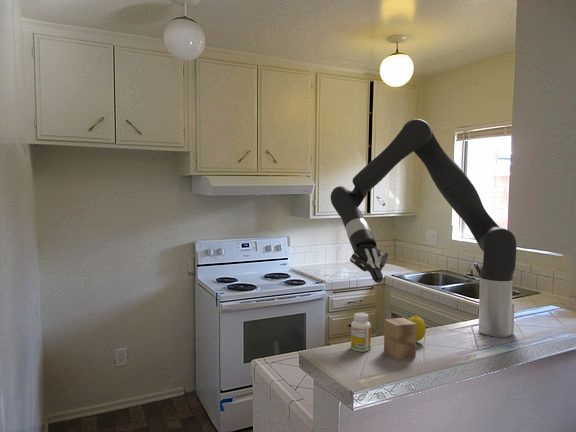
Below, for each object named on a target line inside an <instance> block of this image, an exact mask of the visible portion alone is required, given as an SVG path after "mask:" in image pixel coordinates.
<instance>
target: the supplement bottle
mask: <svg viewBox="0 0 576 432" xmlns="http://www.w3.org/2000/svg"><path fill="white" fill-rule="evenodd" d="M350 325H351V326H350V327H351V329H350V331H351V332H350V347H351V349H352V350H353V351H355V352H362V353H363V352H368V351H370V350H371V344H372V342H371V337H372V335H371V334H372V333H371V332H372V326H371V322H369V314H368V313H367V312H356V313H354V314H353V321H352V322H351V323H350Z"/></svg>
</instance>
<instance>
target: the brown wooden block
mask: <svg viewBox="0 0 576 432" xmlns="http://www.w3.org/2000/svg"><path fill="white" fill-rule="evenodd" d="M383 327H384V328H383V331H384V332H383V335H384V337H383V353H385V354H387V355H388V356H390V357H391V358H392V359H394V360H402V359H412V358H416V357H417V356H416V352H417V349H416V348H417V342H416V323H414V322H412V321H409V319H407V318H405V317H396V318H387V319H386V318H385V319H384V325H383Z"/></svg>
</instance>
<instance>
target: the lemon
mask: <svg viewBox="0 0 576 432" xmlns="http://www.w3.org/2000/svg"><path fill="white" fill-rule="evenodd" d="M408 320H409V321H412V322H414V323H416V343H417V342H420V341H421V340H423V339H424V337H425V335H426V329H427V327H426V323H425V321H424V319H422V318H421V317H420V316H418V315H415V314H414V316H411V317H410V318H408Z"/></svg>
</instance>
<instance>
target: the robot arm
mask: <svg viewBox="0 0 576 432" xmlns="http://www.w3.org/2000/svg"><path fill="white" fill-rule="evenodd" d="M412 153H414V154H415V155H416V156H417V157H418V158H419V159H420V160H421V162H422V163H423V165H424V166H425V168H426V170H427V172H428V173H429V176H430V178H431V180H432V181H433V183H434V184H435V186H436V188H437V189H438V191H439V192H440V194H441V195H442V197H443V198H444V199H445V201H446V202H447V203H448V204H449V206H450V207H451V208H452V209H453V211H454V212H455V213H456V214H457V215H458V216H459V218H460V219H461V220H462V221H463V222H464V223H465V225H466V226H467V228H468V229H469V231H470V232H471V234H472V236H473V238H474V239H475V241H476V243H477V244H478V246H479V248H480V249H481V251H482V252H483V257H482V258H483V259H482V260H483V261H482V262H483V263H482V266H481V268H480V269H479V295H478V296H479V298H478V332H479V333H481V334H483V335H485V336H489V337H496V338H507V337H510V336H512V335H514V331H515V330H514V329H515V327H514V326H515V325H514V324H515V303H513V279H514V278H513V277H514V273H515V270H516V262H517V261H516V260H517V239H516V237H515V235H514V233H513V232H511V230H509V229H506V228H503V227H500V226H499V225H498V224H497V223H496V222H495V221H494V220H493V218H492V216H490V215H489V213H488V212H487V210H486V209H485V207H484V205H483V204H484V203H483V202H482V199H481V197H480V195H479V193H478V191H477V189H476V188H475V186H474V184H473V183H472V181H471V180H470V178H469V177H468V176H467V175H466V173H465V172H464V171H463V170H462V169H461V167H460V166H459V164H457V163H456V162H455V161H454V160H453V159H452V157H450V156H449V154H447V153H446V152H445V150H444V149H443V148H442V146H441V145H440V143H439V141H438V139H437V138H436V136H435V134H434V132H433V130H432V128H431V126H430V125H429V123H428V122H426V121H425V120H423V119H419V118H414V119H410V120H408V121H407V122H406V123H405V124H404V125H403V127H402V129H401V130H400V131H399V132H398V134H397V135H396V136H395V138H393V140H392V141H391V142H390V143H389V145H387V146H386V148H385V149H383V151H381V152H380V153H379V154H378V155H377V156H376V157H375V158H373V159H372V160H371V161H369V163H367V164H366V166H364V167H363V168H362V169H361V170H360V171H358V173H356V174H355V176H354V177H353V178H352V185H353V186H354V187H353V190H350V189H348V188H347V187H345V186H341V185H339V186H336V187H334V188H333V190H332V191H331V193H330V203H331V205H332V208H334V210H335V212H337V215H338V216H339V217H340V219H341V221H342V224H343V226H344V228H345V232H346V236H347V238H348V241H349V244H350V246H351V248H352V251H353V253H352V255H351V256H350V258H349V261H350V262H351V263H352V264H353V265H355V266H356V267H357V268H358V269H360V270H362V271H363V272H368V273H370V274H369V275H370V276H371V278H372V281H374V282H375V283H379V284H380V283H382V281H383V279H384V275H383V273H382V270H383V268H384V267H385V265H386V263H387V260H388V257H389V253H388V252H385V253H383V252H381V249H380V248H379V246H377V241H376V238H375V237H374V235H373V232H372V231H371V230H372V229H371V228H370V226H369V224H368V222H367V221H366V218H365V217H364V214H363V212H362V210H361V209H360V208H359V207H360V206H361V204H362V203H363V201H364V200H365V198H367V197H366V196H367V195H368V193H369V192H370V191H372V190H373V188H374V187H376V186H377V185H378V184H379V183H380V182H382V180H383V179H384V178H385V177H386V176H387V175H388V174H389V173H390V172H391V171H392V170H393V169H394V168H395V167H396V166H397V164H399V163H400V162H401V161H402V160H404V159H405V158H407V157H408V156H409V155H411V154H412ZM379 260H380V262H379Z"/></svg>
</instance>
